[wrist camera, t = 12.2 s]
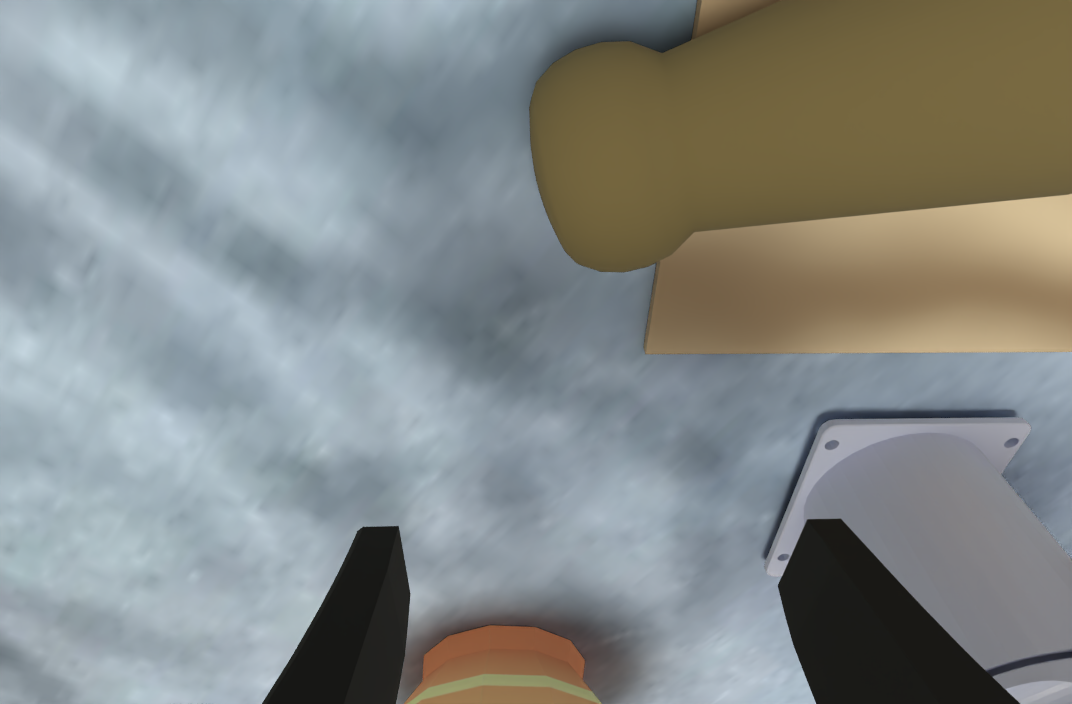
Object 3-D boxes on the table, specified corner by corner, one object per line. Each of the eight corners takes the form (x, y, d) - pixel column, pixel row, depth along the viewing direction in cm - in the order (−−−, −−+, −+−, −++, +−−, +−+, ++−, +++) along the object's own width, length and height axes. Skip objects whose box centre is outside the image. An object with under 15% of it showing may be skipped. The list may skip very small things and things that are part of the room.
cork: (994, 198, 16) (582, 287, 19) (968, -51, 15) (536, 79, 18) (1181, 189, 10) (550, 321, 13) (1159, -212, 9) (478, 13, 12)
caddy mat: (1090, 344, 22) (1101, 353, 22) (643, 347, 22) (646, 355, 21) (1636, -450, 11) (1676, -463, 11) (775, -499, 11) (785, -514, 10)
